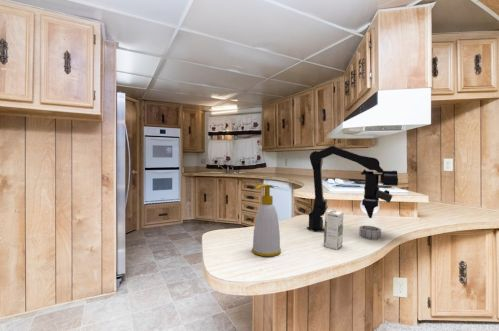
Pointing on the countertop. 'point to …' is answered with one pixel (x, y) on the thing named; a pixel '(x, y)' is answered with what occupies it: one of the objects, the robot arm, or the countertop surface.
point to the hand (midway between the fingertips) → (370, 217)
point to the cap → (370, 228)
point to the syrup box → (333, 229)
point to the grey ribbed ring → (370, 233)
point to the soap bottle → (266, 226)
